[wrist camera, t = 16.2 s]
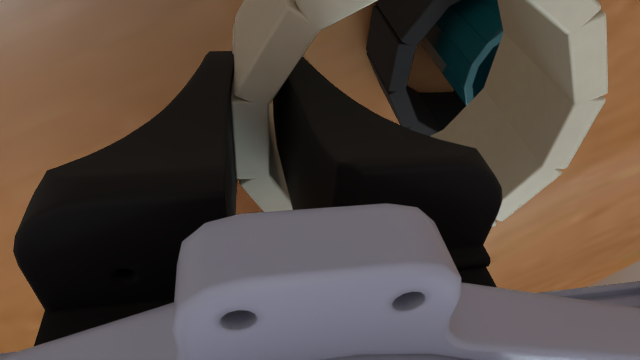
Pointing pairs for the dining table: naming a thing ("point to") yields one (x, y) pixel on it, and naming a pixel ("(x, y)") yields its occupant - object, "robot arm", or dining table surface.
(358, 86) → the dining table surface
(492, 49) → the espresso cup
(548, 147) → the ivory ring
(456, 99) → the black ring
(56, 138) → the dining table surface
